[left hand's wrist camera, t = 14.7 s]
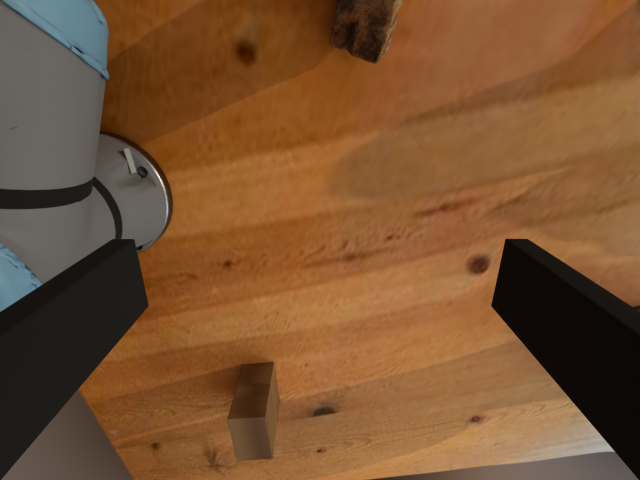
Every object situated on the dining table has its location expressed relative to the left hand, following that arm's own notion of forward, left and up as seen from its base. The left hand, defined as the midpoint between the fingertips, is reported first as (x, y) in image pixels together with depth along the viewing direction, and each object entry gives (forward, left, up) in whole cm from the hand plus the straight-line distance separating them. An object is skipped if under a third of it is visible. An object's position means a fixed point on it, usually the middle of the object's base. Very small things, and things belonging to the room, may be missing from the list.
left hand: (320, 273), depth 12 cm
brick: (0, -36, -31) cm, 48 cm away
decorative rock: (+1, +16, -31) cm, 35 cm away
